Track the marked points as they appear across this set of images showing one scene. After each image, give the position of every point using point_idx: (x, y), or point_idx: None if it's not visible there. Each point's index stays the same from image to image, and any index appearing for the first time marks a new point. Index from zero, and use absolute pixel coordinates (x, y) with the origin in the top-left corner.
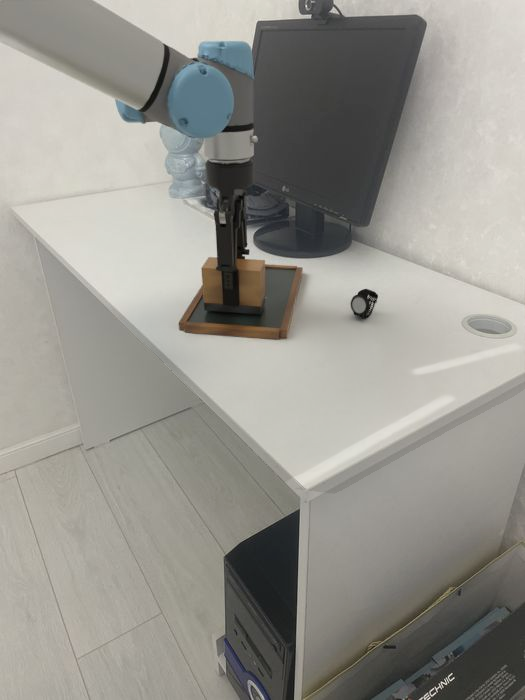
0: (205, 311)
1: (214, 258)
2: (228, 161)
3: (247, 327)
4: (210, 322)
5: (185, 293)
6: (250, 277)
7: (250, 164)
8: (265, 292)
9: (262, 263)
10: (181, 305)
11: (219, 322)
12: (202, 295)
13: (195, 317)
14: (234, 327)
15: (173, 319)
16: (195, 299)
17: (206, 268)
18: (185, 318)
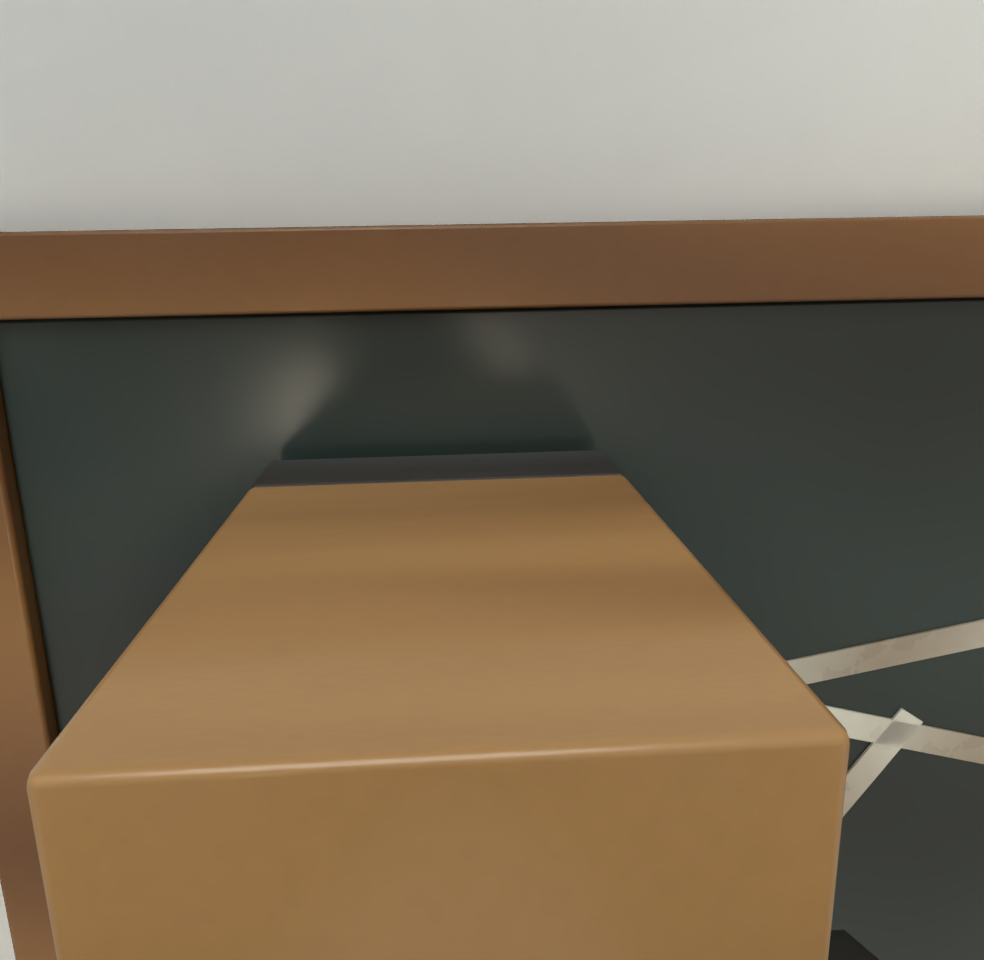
0: (317, 452)
1: (749, 900)
2: None
3: (47, 946)
4: (78, 576)
5: (899, 7)
6: None
7: None
8: (853, 913)
9: None
10: (570, 62)
11: (107, 662)
12: (710, 302)
13: (146, 383)
14: (12, 839)
15: (204, 80)
16: (569, 255)
17: (51, 895)
18: (45, 287)
